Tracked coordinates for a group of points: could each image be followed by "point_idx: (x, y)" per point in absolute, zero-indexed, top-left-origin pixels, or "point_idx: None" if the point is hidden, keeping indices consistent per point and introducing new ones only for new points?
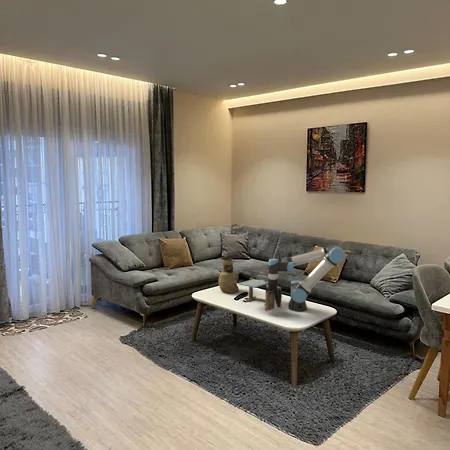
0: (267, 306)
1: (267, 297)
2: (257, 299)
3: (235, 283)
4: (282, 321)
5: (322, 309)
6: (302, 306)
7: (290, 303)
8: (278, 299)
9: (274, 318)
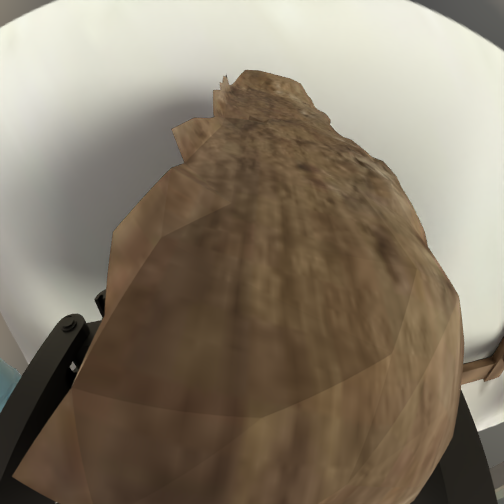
0: (243, 83)
1: (261, 139)
2: (474, 366)
3: None
4: (39, 70)
5: None
6: None
7: None
8: (67, 318)
9: (124, 61)
